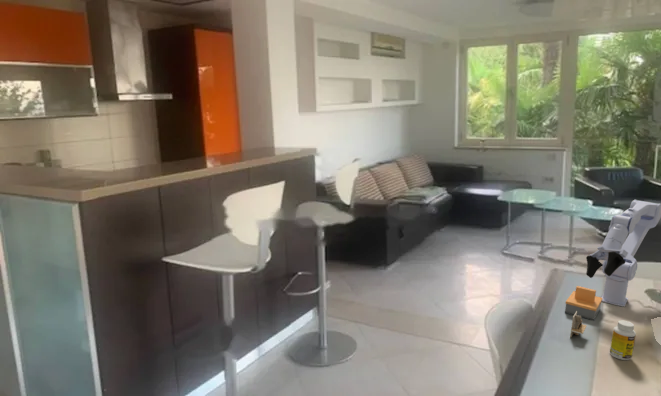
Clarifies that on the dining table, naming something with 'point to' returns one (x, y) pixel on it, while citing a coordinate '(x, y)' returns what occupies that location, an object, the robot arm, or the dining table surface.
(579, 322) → the architectural model
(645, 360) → the dining table surface
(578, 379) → the dining table surface
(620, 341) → the supplement bottle
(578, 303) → the lid
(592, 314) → the tub
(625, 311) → the dining table surface
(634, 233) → the robot arm
